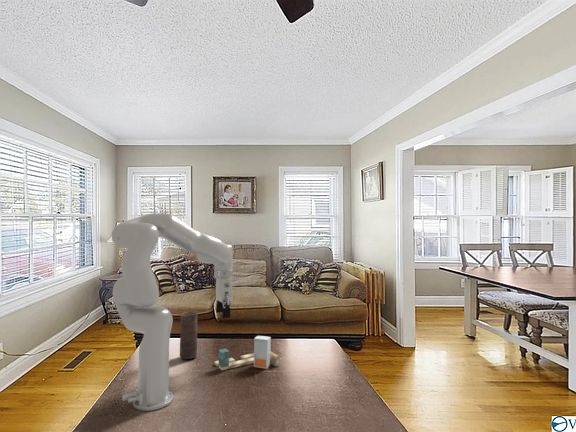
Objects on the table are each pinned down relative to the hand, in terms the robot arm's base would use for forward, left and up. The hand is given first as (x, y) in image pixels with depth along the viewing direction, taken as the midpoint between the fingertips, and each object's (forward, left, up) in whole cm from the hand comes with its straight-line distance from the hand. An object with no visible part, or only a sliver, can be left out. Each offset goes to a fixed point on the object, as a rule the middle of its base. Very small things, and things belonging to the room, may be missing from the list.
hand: (223, 314), depth 154 cm
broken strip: (+8, +1, -21) cm, 23 cm away
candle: (-10, +15, -21) cm, 28 cm away
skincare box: (+13, -10, -21) cm, 27 cm away
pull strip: (+8, -7, -21) cm, 24 cm away
